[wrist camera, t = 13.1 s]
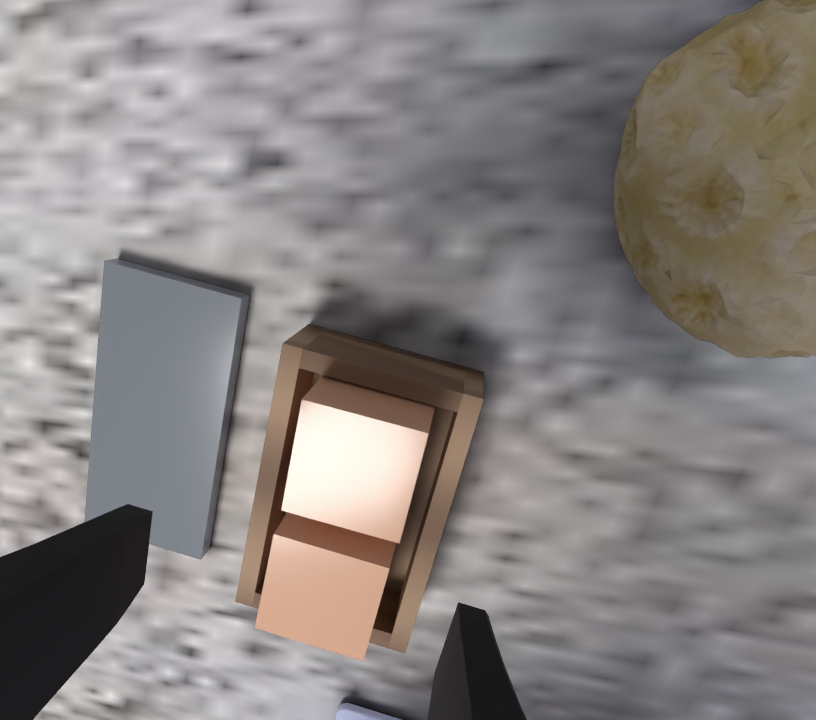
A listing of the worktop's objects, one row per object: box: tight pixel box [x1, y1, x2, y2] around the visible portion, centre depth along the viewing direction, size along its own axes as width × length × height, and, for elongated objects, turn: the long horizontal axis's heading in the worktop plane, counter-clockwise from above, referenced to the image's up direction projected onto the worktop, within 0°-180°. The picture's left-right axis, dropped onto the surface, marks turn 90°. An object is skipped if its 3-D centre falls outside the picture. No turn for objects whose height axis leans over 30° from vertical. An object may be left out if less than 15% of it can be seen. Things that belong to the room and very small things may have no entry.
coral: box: [613, 0, 816, 358], centre depth 15 cm, size 9×9×8 cm
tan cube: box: [281, 375, 435, 544], centre depth 20 cm, size 4×4×4 cm
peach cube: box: [255, 512, 396, 661], centre depth 21 cm, size 4×4×4 cm
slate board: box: [85, 259, 250, 559], centre depth 23 cm, size 12×6×1 cm, turn 166°
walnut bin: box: [235, 324, 484, 653], centre depth 22 cm, size 11×7×3 cm, turn 166°
